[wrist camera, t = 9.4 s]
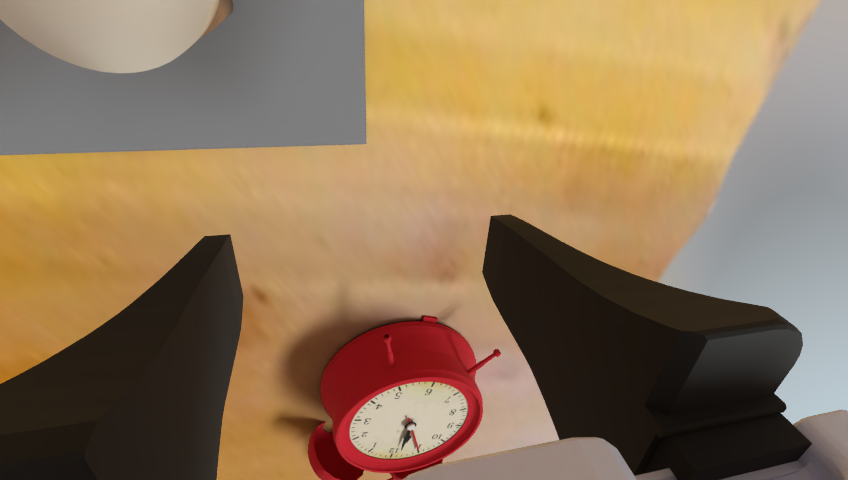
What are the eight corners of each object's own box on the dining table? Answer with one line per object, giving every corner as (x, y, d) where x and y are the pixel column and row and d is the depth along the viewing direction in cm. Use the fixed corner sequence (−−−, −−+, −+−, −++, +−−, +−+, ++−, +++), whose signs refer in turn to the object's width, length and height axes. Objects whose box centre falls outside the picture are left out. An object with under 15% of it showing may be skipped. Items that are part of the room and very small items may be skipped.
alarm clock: (529, 356, 26) (447, 548, 30) (483, 307, 32) (419, 473, 35) (361, 336, 22) (290, 560, 26) (343, 283, 28) (286, 473, 31)
